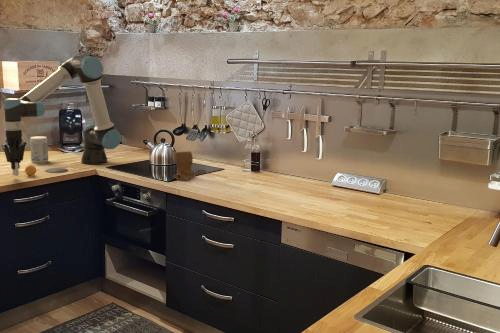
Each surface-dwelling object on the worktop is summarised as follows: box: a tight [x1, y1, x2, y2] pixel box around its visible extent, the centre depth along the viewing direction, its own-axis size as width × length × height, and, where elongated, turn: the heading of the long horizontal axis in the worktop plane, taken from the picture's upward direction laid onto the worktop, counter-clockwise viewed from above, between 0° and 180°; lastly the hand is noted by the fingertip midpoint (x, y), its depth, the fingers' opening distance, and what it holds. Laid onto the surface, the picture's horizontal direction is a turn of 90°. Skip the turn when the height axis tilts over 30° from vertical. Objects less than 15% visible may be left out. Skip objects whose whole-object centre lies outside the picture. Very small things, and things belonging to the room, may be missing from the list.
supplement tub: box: [29, 135, 49, 164], centre depth 310 cm, size 10×10×15 cm
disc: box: [44, 167, 69, 174], centre depth 290 cm, size 12×12×1 cm
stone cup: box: [172, 150, 198, 181], centre depth 284 cm, size 15×12×15 cm
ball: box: [24, 164, 37, 177], centre depth 275 cm, size 6×6×6 cm
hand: (15, 175), depth 268 cm, fingers closed
